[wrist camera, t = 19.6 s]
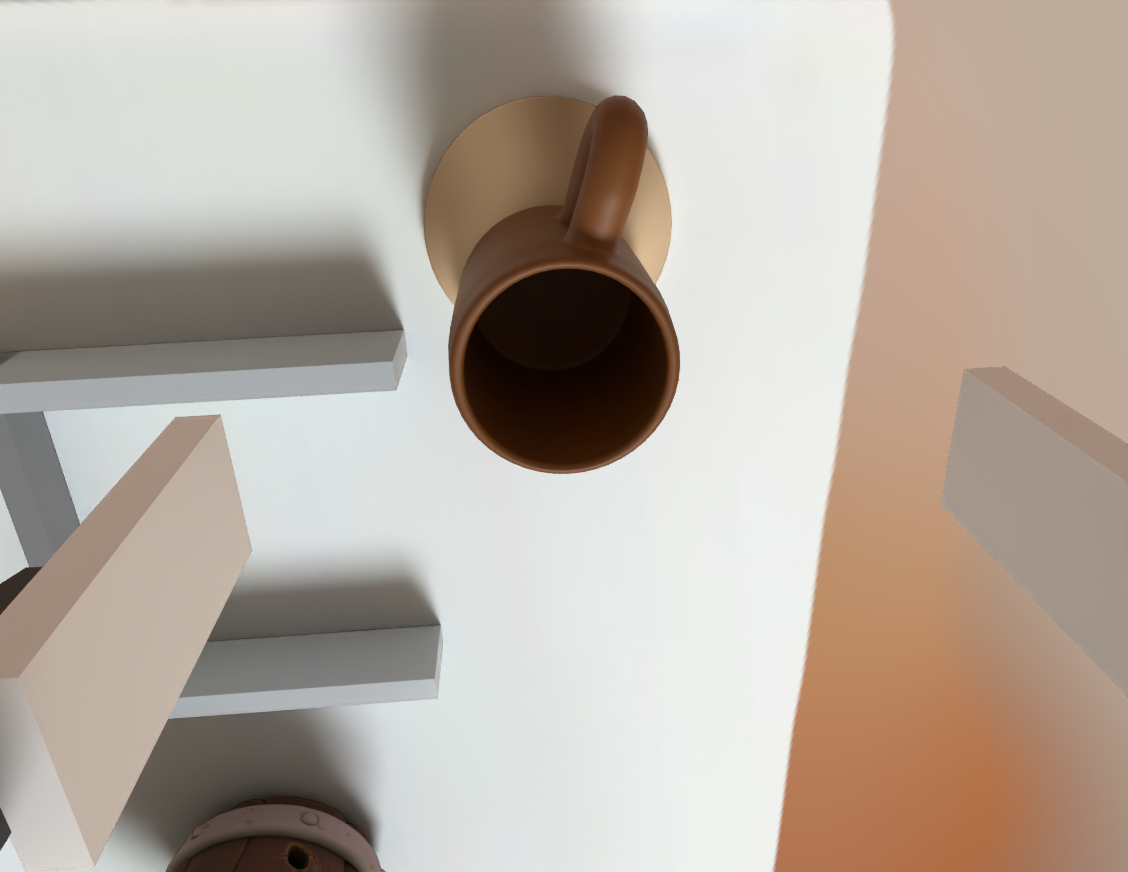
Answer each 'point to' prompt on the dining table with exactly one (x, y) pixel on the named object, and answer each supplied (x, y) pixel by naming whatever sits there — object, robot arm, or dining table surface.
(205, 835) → the flowerpot
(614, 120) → the mug
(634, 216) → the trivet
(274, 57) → the dining table surface
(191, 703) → the u-shaped frame
